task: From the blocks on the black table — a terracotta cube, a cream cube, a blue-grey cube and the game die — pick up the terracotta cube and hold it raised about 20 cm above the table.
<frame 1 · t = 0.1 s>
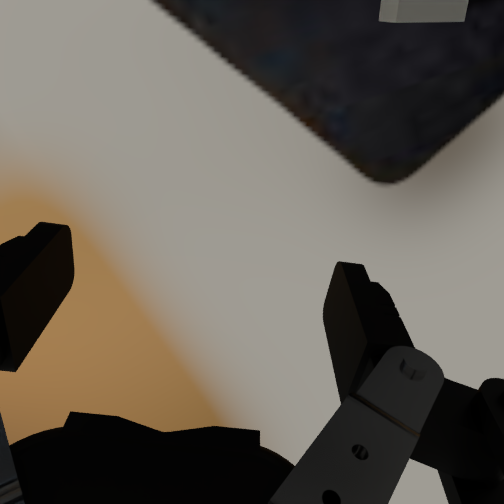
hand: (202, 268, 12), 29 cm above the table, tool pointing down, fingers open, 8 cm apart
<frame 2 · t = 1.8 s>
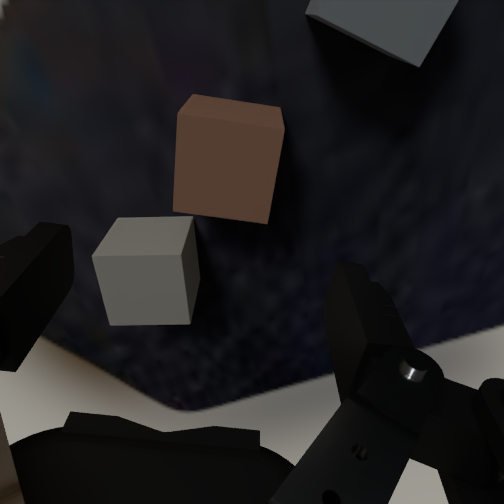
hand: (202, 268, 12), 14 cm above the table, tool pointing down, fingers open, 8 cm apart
cream cube: (160, 249, 28), on the table
terracotta cube: (231, 143, 25), on the table
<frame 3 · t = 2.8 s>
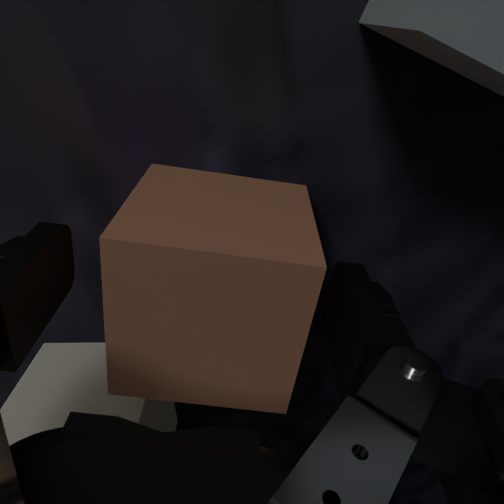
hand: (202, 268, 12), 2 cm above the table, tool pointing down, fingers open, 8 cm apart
cream cube: (115, 383, 18), on the table
terracotta cube: (222, 240, 15), on the table
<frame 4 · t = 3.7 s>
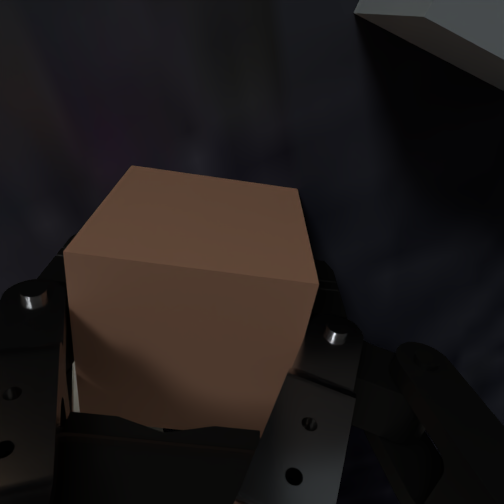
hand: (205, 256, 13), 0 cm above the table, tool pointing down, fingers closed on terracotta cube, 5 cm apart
terracotta cube: (208, 248, 14), on the table, touching gripper
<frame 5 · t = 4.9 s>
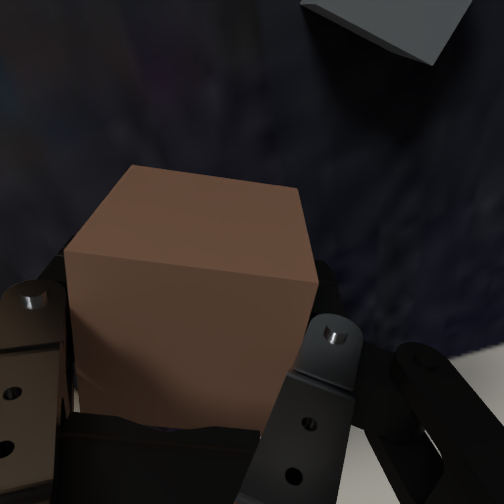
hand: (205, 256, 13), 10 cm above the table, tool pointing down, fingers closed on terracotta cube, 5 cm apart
terracotta cube: (208, 247, 14), point 10 cm above the table, touching gripper
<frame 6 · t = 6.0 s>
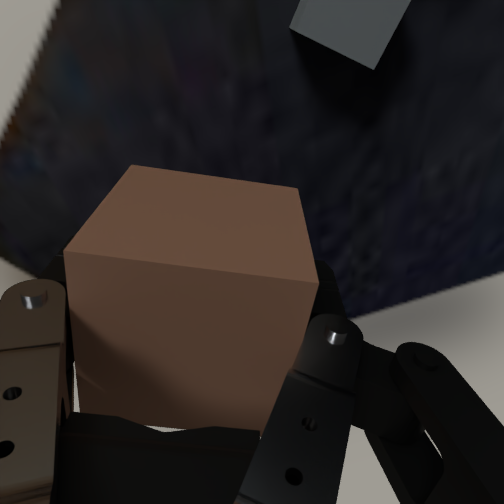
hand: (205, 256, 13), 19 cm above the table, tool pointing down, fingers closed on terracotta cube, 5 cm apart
blue-grey cube: (341, 4, 26), on the table
terracotta cube: (208, 247, 14), point 19 cm above the table, touching gripper
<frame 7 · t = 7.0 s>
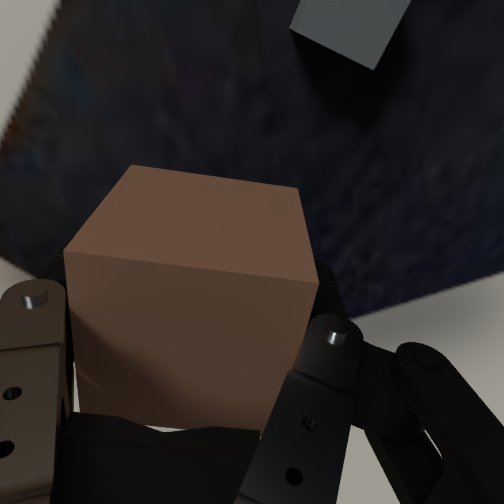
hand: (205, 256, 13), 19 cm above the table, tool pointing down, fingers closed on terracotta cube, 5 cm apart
blue-grey cube: (341, 4, 26), on the table
terracotta cube: (208, 247, 14), point 19 cm above the table, touching gripper
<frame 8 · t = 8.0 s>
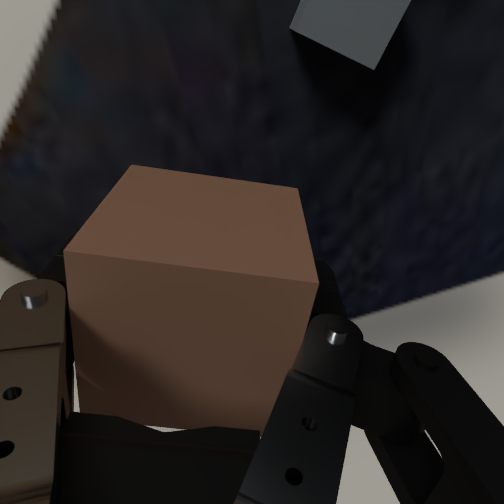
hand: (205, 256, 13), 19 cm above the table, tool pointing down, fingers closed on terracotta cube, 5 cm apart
blue-grey cube: (341, 4, 26), on the table
terracotta cube: (208, 247, 14), point 19 cm above the table, touching gripper
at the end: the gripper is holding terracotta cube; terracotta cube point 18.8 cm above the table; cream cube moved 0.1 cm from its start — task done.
